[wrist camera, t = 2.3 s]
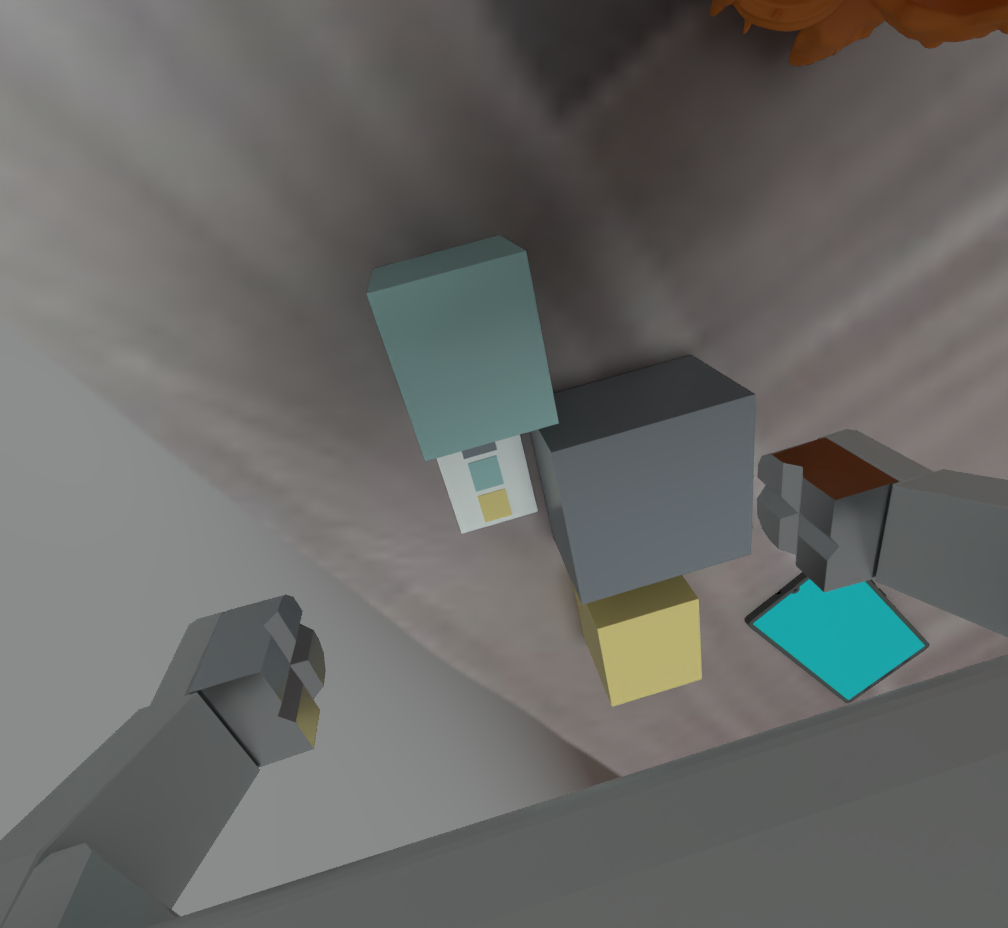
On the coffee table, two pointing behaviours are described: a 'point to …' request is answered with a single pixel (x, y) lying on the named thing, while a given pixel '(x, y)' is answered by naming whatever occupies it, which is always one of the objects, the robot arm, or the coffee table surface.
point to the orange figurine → (868, 21)
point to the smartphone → (838, 633)
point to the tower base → (648, 475)
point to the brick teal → (465, 344)
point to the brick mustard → (644, 639)
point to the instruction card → (488, 483)
